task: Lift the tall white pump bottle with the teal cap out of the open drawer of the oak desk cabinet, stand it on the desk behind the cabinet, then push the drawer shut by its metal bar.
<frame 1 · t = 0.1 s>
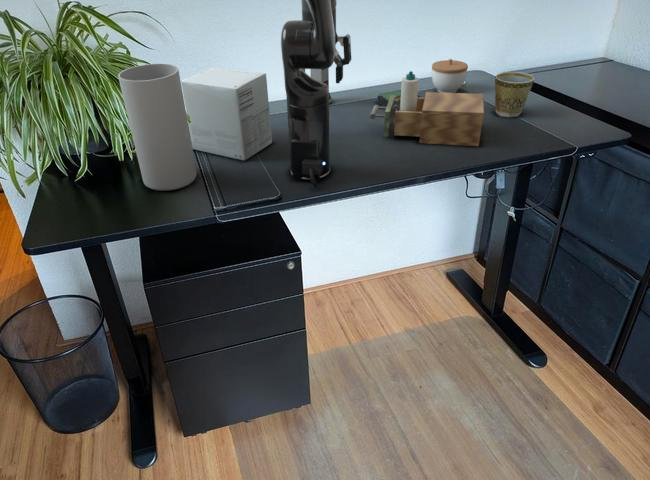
hand: (320, 81, 129), 17 cm above the table, tool pointing down, fingers open, 8 cm apart
vintage mobile phone: (321, 103, 168), on the table
ceramic cup: (509, 112, 155), on the table
trinket box: (447, 90, 172), on the table
cylinder vase: (170, 180, 129), on the table
supplement box: (232, 147, 144), on the table
disk drive: (403, 107, 161), on the table
lotion bottle: (407, 124, 145), point 2 cm above the table, touching drawer
cabinet: (449, 134, 143), on the table
drawer: (405, 116, 144), point 4 cm above the table, slide at 8.0 cm, touching lotion bottle
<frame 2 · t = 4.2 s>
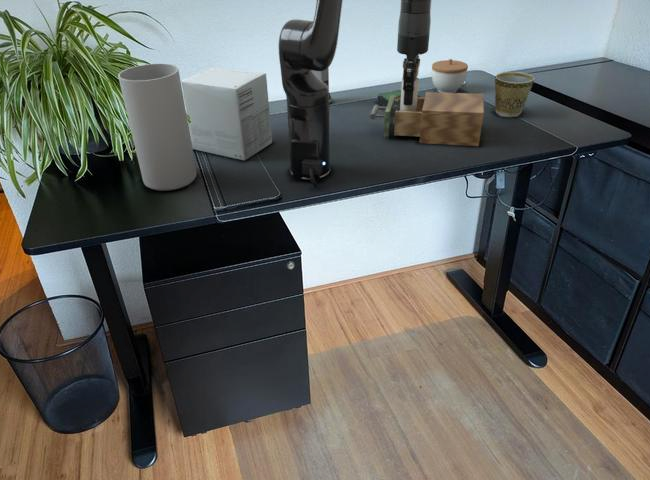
hand: (408, 101, 141), 8 cm above the table, tool pointing down, fingers closed on lotion bottle, 4 cm apart
lotion bottle: (407, 124, 145), point 2 cm above the table, touching drawer, gripper
everything else where it was.
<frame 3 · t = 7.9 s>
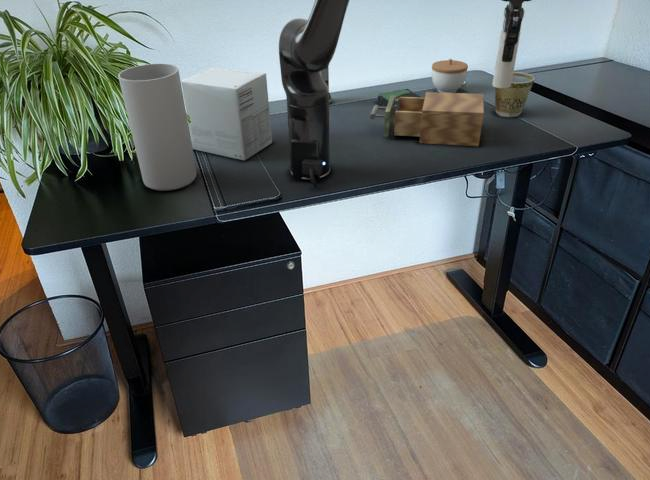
hand: (506, 58, 125), 21 cm above the table, tool pointing down, fingers closed on lotion bottle, 4 cm apart
lotion bottle: (501, 85, 129), point 14 cm above the table, touching gripper
drawer: (405, 116, 144), point 4 cm above the table, slide at 8.0 cm
everything else where it was.
when the fingers open (6 cm above the table, at t = 11.6 s): lotion bottle stays where it is, on the table.
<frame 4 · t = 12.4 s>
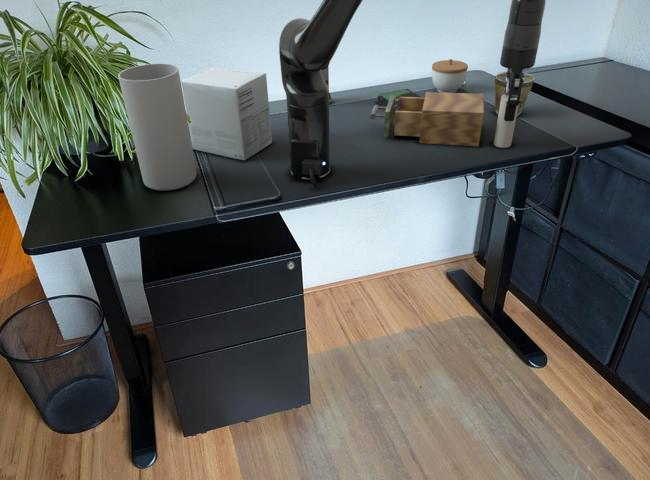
hand: (507, 114, 132), 8 cm above the table, tool pointing down, fingers open, 8 cm apart
lotion bottle: (502, 144, 137), on the table
everything else where it was.
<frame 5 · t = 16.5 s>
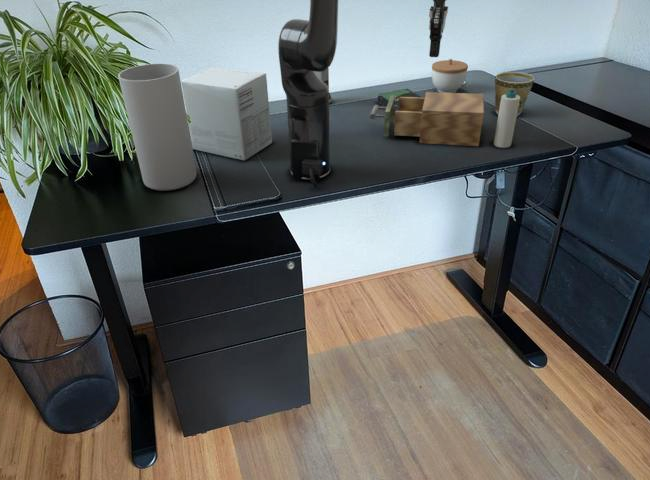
hand: (434, 56, 130), 20 cm above the table, tool pointing down, fingers closed
nothing on the table moved.
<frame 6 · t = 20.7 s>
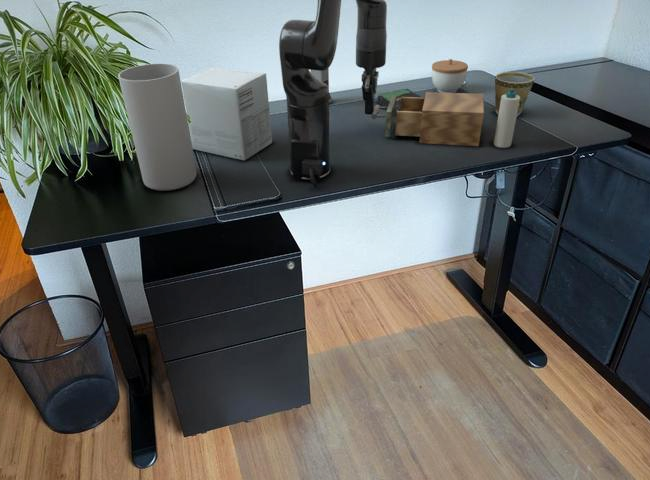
hand: (369, 113, 146), 5 cm above the table, tool pointing down, fingers closed
drawer: (406, 116, 143), point 4 cm above the table, slide at 7.6 cm, touching gripper
everything else where it was.
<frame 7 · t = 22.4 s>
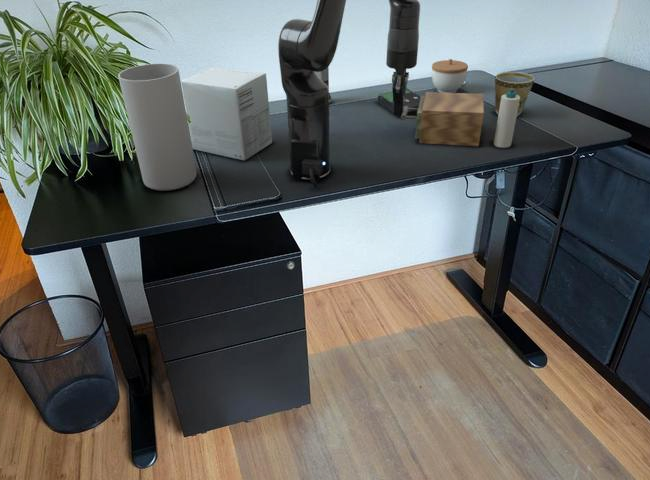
hand: (397, 114, 144), 5 cm above the table, tool pointing down, fingers closed
drawer: (436, 117, 142), point 4 cm above the table, slide at 0.0 cm, touching cabinet, gripper
everything else where it was.
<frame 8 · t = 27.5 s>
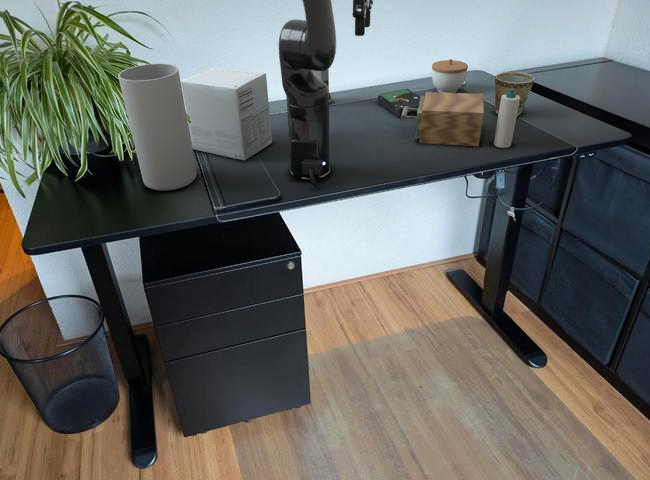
hand: (362, 31, 130), 26 cm above the table, tool pointing down, fingers open, 8 cm apart
drawer: (436, 117, 142), point 4 cm above the table, slide at 0.0 cm, touching cabinet
everything else where it was.
at the end: lotion bottle inside the target area (0.1 cm from its centre), on the table; lotion bottle tilted 0°; drawer slide at 0.0 cm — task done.
